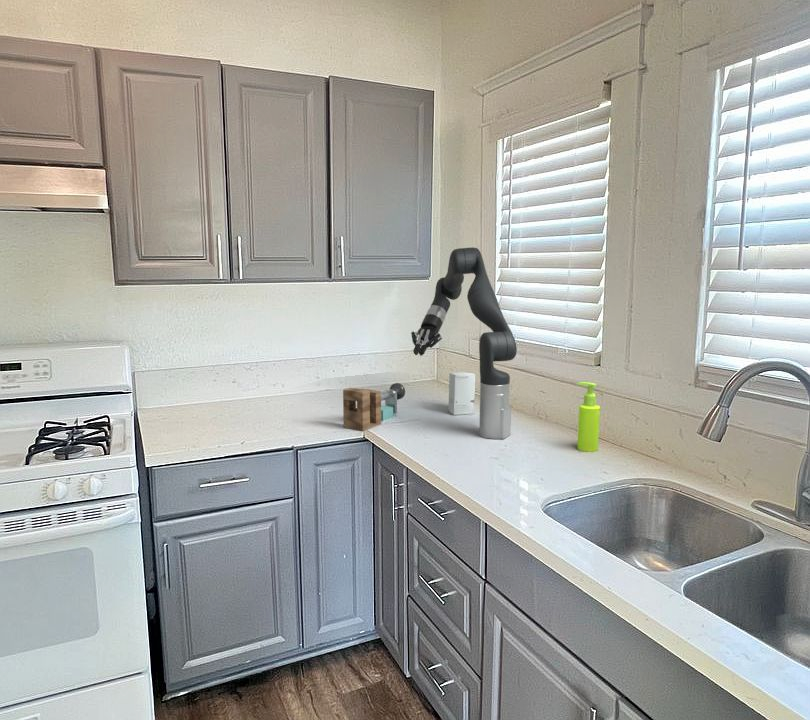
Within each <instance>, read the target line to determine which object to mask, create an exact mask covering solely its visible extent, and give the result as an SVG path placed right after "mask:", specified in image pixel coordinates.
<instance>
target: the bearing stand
mask: <svg viewBox="0 0 810 720" xmlns="http://www.w3.org/2000/svg"><path fill="white" fill-rule="evenodd" d="M381 392H382V391H381V390H374V389H368V388H356V387H348V388H344V389H343V390H342V394H343V395H342V403H343V428H345V429H350V430H354V431H359V432H360V431H361V432H365V431H367V430H371V429H372V428H375V427H377V426H381V425H382V421H381V405H382V401H381ZM370 397H371V405H370Z"/></svg>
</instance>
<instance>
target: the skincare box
mask: <svg viewBox="0 0 810 720" xmlns="http://www.w3.org/2000/svg"><path fill="white" fill-rule="evenodd" d="M448 375H449V376H448V377H449V379H448V381H449V382H448V383H449V384H448V409H447V410H448V412H449V413H450V414H451V415H452V416H461V415H473V414H475V395H476V394H475V393H476V392H475V389H476V388H475V387H476V374H475V373H472V372H469V371H468V372H467V371H465V372H464V371H463V372H462V371H461V372H459V371H458V372H457V371H456V372H449V373H448Z"/></svg>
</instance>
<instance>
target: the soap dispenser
mask: <svg viewBox="0 0 810 720" xmlns="http://www.w3.org/2000/svg"><path fill="white" fill-rule="evenodd" d="M576 385H577V386H587V389H586V390H587V392H586V393H584V394H583V395H584V396H583V404H579V406H578V423H577V424H578V425H577V427H578V428H577V446H576V448H577V450H578V451H579V452H580V451H581V452H586V453H594V452H595V453H596V452H597V451H598V450H599V438H600V437H599V436H600V419H601V418H600V417H601V416H600V415H601V406H600V405H598V404H597V394H595V393H594V388H595V387H597V385H598V384H597V383H594V382H589V381H582V382H577V383H576Z"/></svg>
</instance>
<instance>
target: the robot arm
mask: <svg viewBox="0 0 810 720" xmlns="http://www.w3.org/2000/svg"><path fill="white" fill-rule="evenodd" d="M469 274H474V275H475V276H474V279H473V280H472V283H471V284H470V287H469V289H468V291H467V296H466V297H467V301H468V304H469V305H468V306H469V308H470V310H471V312H472V314H473V316H474V317H476V318H477V320H479V321H480V322H481V323H482V324H484V325H485V326H486V327H488V328H489V329H490V330H491V331H488V332H483V333H482V334H481V335H480V338H479V342H478V347H479V349H478V350H479V351H478V354H479V355H478V356H479V376H480V377H479V378H480V379H479V381H480V383H479V417H478V418H479V419H478V420H479V423H478V424H479V427H478V434H479V436H480V437H482V438H486V439H493V440H504V439H506V438H507V437H509V436H511V433H512V432H511V426H512V406H511V405H510V386H511V385H510V384H511V383H510V382H511V376H510V373H508V372H505V371H502V370H499V369H497V368H495V365H494V362H507V361H512V360H514V359H515V357H516V356H517V349H518V348H517V343H516V338H515V336H514V334H513V332H512V330H511V328H510V326H509V324H508V323H507V321H506V319H505V317H504V314H503V313H502V310H501V307H500V305H499V302H498V299H497V297H496V294H495V291H494V289H493V286H492V284H491V281H490V279H489V277H488V276H489V275H488V274H487V269H486V265H485V263H484V259H483V255H482V253H481V251H480V250H479V248H478V247H463V248H462V247H461V248H454V249H453V250H452V251H451V253H450V255H449V259H448V266H447V273H446V275H445V276H444V277H440V278H439V279H437V282H436V285H435V291H434V298H433V300H432V302H431V304H430V307H429V308H428V310H427V311H426V314H425V316H424V318H423V319H422V321H421V324H420V328H418V330H417V331H415V332H414V331H411V333H410V334H411V339H412V340H411V341H412V344H413V345H414V348H413V350H412V351H413V354H414V355H415V356H418V355H419V356H421V357H422V356H423V355H424V354H425V353H426V351H427V349H428V348H431V349H433V347H434V346H436V345H437V344H438V343H439V342H440V341H441V340H442V339H443V338H442V336H441V334H440V333H439V332H440V330H441V328H442V325H443V324H444V322H445V319H446V316H447V313H448V311H449V310H450V307H451V302H450V300H451V301H452V300H453V301H454V300H455V301H456V300H457V299H459V297H460V295H461V294H462V288H463V286H462V284H463V283H464V279H465V275H469Z"/></svg>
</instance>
